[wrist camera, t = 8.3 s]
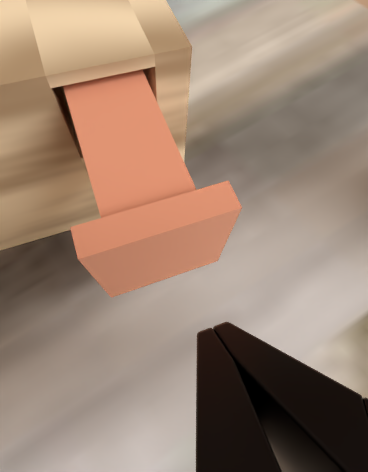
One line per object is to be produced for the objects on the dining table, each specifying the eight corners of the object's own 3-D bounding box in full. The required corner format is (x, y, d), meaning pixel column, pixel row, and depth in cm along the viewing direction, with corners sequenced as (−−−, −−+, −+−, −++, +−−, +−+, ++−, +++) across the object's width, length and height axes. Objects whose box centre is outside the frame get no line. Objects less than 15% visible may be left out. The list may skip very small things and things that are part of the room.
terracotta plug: (217, 260, 13) (242, 207, 9) (111, 297, 12) (77, 259, 8) (138, 78, 17) (128, -19, 13) (56, 96, 17) (15, -1, 12)
